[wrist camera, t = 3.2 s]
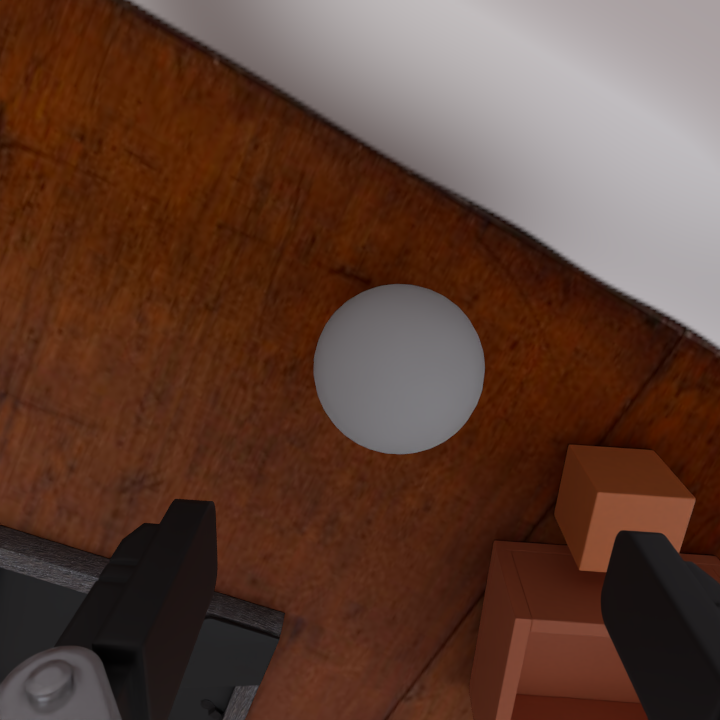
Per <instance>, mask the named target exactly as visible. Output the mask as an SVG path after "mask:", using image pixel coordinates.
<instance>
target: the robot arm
mask: <svg viewBox="0 0 720 720" xmlns="http://www.w3.org/2000/svg"><path fill="white" fill-rule="evenodd" d="M216 578H217V537H216V512H215V505H214V502H213V501H199V500H184V499H175V500H174V501H173V502H172V503H171V505H170V507H169V509H168V510H167V512H166V514H165V516H164V517H163V519H162V521H161V523H160V524H150V523H144V524H142V525H141V526H140V527H138V528H137V529H136V530H134V531H133V532H132V533H131V534H129V535H128V536H127V537H125V538H124V539H123V540H122V541H121V543H120V544H119V546H118V547H117V549H116V551H115V552H114V554H113V555H112V557H111V558H110V561H109V564H107V565H106V566H105V568H104V569H103V571H102V572H101V574H100V575H99V579H98V581H96V582H95V583H94V585H93V586H92V588H91V590H90V591H89V593H88V594H87V596H86V597H85V599H84V600H83V602H82V604H81V605H80V607H79V608H78V610H77V611H76V613H75V614H74V616H73V618H72V619H71V621H70V622H69V624H68V625H67V627H66V629H65V630H64V632H63V633H62V635H61V636H60V638H59V639H58V641H57V643H56V644H55V646H54V647H53V648H51V649H48V650H45V651H42V652H40V653H38V654H35V655H33V656H32V657H30V658H28V659H26V660H25V661H23V662H22V663H21V664H19V665H18V666H17V667H15V668H14V669H13V670H12V671H11V672H10V673H9V674H8V675H7V676H6V678H5V679H4V680H3V681H2V683H1V684H0V720H168V717H169V714H170V712H171V709H172V706H173V703H174V701H175V698H176V695H177V692H178V690H179V687H180V684H181V681H182V679H183V676H184V673H185V671H186V668H187V665H188V662H189V660H190V657H191V654H192V651H193V649H194V646H195V643H196V640H197V638H198V635H199V632H200V629H201V627H202V624H203V621H204V618H205V616H206V613H207V610H208V608H209V605H210V602H211V599H212V596H213V593H214V589H215V584H216ZM601 613H602V618H603V621H604V624H605V627H606V629H607V631H608V633H609V636H610V638H611V640H612V642H613V644H614V646H615V648H616V651H617V653H618V655H619V657H620V659H621V661H622V664H623V666H624V668H625V670H626V672H627V674H628V677H629V679H630V681H631V683H632V685H633V687H634V690H635V692H636V694H637V696H638V698H639V700H640V702H641V705H642V707H643V709H644V711H645V713H646V715H647V718H648V720H720V584H719V583H718V582H717V581H716V580H715V579H714V578H712V577H711V576H710V575H708V574H707V573H706V572H705V571H703V570H702V569H701V568H700V567H698V566H697V565H696V564H694V563H693V562H691V561H684V560H683V559H682V558H681V556H680V555H679V553H678V552H677V551H676V549H675V548H674V546H673V545H672V544H671V542H670V541H669V540H668V538H667V537H666V536H665V535H664V534H662V533H656V532H642V531H627V530H622V531H620V532H619V533H618V534H617V536H616V538H615V541H614V545H613V549H612V553H611V556H610V560H609V564H608V568H607V572H606V575H605V579H604V583H603V587H602V591H601Z"/></svg>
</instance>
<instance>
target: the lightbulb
mask: <svg viewBox="0 0 720 720" xmlns="http://www.w3.org/2000/svg"><path fill="white" fill-rule="evenodd" d="M484 372H485V365H484V353H483V349H482V346H481V343H480V340H479V337H478V335H477V333H476V331H475V329H474V327H473V326H472V324H471V322H470V320H469V319H468V317H467V316H466V315H465V314H464V313H463V312H462V311H461V309H460V308H459V307H458V306H457V305H455V304H454V303H453V302H451V301H450V300H449V299H447V298H446V297H445V296H442V295H440V294H438V293H436V292H434V291H432V290H430V289H426V288H422V287H418V286H415V285H407V284H391V285H384V286H378V287H376V288H373V289H370V290H367V291H364V292H362V293H360V294H358V295H357V296H355V297H353V298H351V299H350V300H348V301H347V302H346V303H345V304H343V305H342V306H341V307H340V308H339V309H338V310H337V311H336V312H335V313H334V314H333V316H332V317H331V318H330V319H329V321H328V322H327V323H326V325H325V327H324V329H323V331H322V334H321V336H320V338H319V341H318V344H317V348H316V352H315V356H314V379H315V384H316V389H317V394H318V397H319V399H320V401H321V404H322V406H323V409H324V410H325V412H326V413H327V415H328V416H329V418H330V419H331V420H332V422H333V423H334V424H335V426H336V427H337V428H338V429H339V430H340V431H341V432H342V433H343V434H344V435H345V436H347V437H348V438H350V439H351V440H353V441H354V442H356V443H357V444H359V445H362V446H364V447H366V448H368V449H371V450H374V451H379V452H383V453H389V454H408V453H417V452H420V451H424V450H427V449H430V448H433V447H435V446H437V445H439V444H441V443H443V442H445V441H446V440H447V439H449V438H450V437H451V436H453V435H454V434H455V433H457V432H458V430H459V429H460V428H461V427H462V426H463V425H464V424H465V423H466V422H467V420H468V419H469V417H470V415H471V414H472V412H473V410H474V409H475V407H476V405H477V403H478V400H479V397H480V395H481V392H482V388H483V380H484Z"/></svg>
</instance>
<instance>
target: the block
mask: <svg viewBox="0 0 720 720" xmlns="http://www.w3.org/2000/svg"><path fill="white" fill-rule="evenodd" d="M695 500H696V499H695V497H694V496H693V495H692V494H691V493H690V492H689V491H688V489H687V488H686V487H685V486H684V485H683V484H682V482H681V481H680V480H679V479H678V478H677V477H676V476H675V474H674V473H673V472H672V471H671V470H670V469H669V468H668V466H667V465H666V464H665V463H664V462H663V461H662V460H661V458H660V457H659V456H658V455H657V454H656V453H655V452H654V451H653V450H644V449H629V448H615V447H600V446H585V445H568V450H567V455H566V460H565V464H564V469H563V474H562V478H561V483H560V488H559V493H558V497H557V502H556V507H555V512H554V516H555V518H556V521H557V523H558V525H559V527H560V529H561V532H562V534H563V536H564V538H565V540H566V543H567V545H568V547H569V549H570V551H571V553H572V556H573V558H574V560H575V562H576V564H577V567H578V569H579V570H580V571H594V572H607V568H608V564H609V560H610V556H611V553H612V549H613V545H614V541H615V538H616V536H617V534H618V533H619V532H620V531H622V530H627V531H642V532H656V533H662V534H664V535H665V536H666V537H667V538H668V540H669V541H670V542H671V544H672V545H673V546H674V548H675V549H676V551H677V552H678V553H679V552H680V549H681V545H682V542H683V539H684V536H685V532H686V529H687V526H688V523H689V520H690V516H691V513H692V510H693V507H694V504H695Z"/></svg>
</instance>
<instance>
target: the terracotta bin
mask: <svg viewBox="0 0 720 720" xmlns="http://www.w3.org/2000/svg"><path fill="white" fill-rule="evenodd" d="M679 555H680V556H681V558H682V559H683V560H684V561H691V562H693V563H694V564H696V565H697V566H698V567H700V568H701V569H702V570H703V571H705V572H706V573H707V574H708V575H710V576H711V577H712V578H714V579H715V580H716V581H717V582H718V583H719V584H720V560H719V559H718V558H717V557H716V556H710V555H696V554H681V553H679ZM605 575H606V572H594V571H580V570H579V569H578V567H577V564H576V562H575V560H574V558H573V556H572V553H571V551H570V549H569V547H568V546H567V545H553V544H539V543H525V542H510V541H496V540H494V543H493V549H492V554H491V560H490V566H489V572H488V578H487V584H486V590H485V596H484V602H483V608H482V613H481V619H480V625H479V631H478V637H477V643H476V649H475V655H474V661H473V667H472V672H471V678H470V684H469V693H470V698H471V706H472V713H473V719H474V720H648V718H647V715H646V713H645V711H644V709H643V707H642V705H641V702H640V700H639V698H638V696H637V694H636V692H635V690H634V687H633V685H632V683H631V681H630V679H629V677H628V674H627V672H626V670H625V668H624V666H623V664H622V661H621V659H620V657H619V655H618V653H617V651H616V648H615V646H614V644H613V642H612V640H611V638H610V636H609V633H608V631H607V629H606V627H605V624H604V621H603V618H602V613H601V591H602V587H603V583H604V579H605Z"/></svg>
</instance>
